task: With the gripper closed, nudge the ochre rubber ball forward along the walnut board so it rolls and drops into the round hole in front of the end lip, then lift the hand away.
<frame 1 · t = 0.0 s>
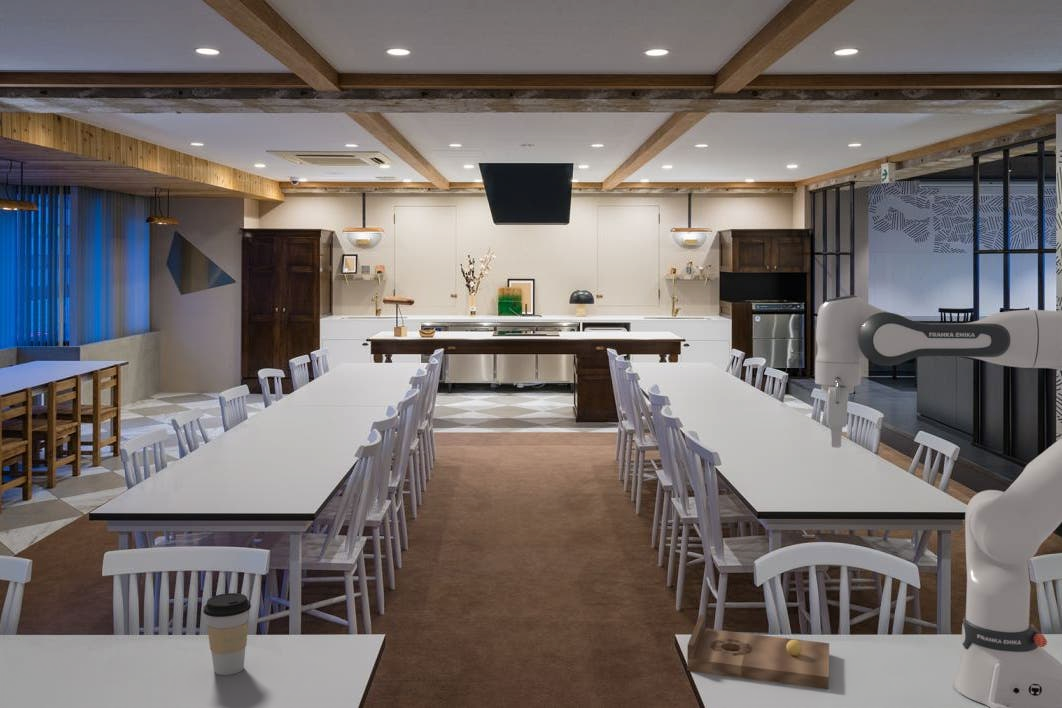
hand: (836, 443, 185), 48 cm above the table, fingers open, 8 cm apart
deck: (759, 662, 193), on the table
ball: (794, 647, 190), point 4 cm above the table, touching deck
coffee cup: (228, 670, 189), on the table
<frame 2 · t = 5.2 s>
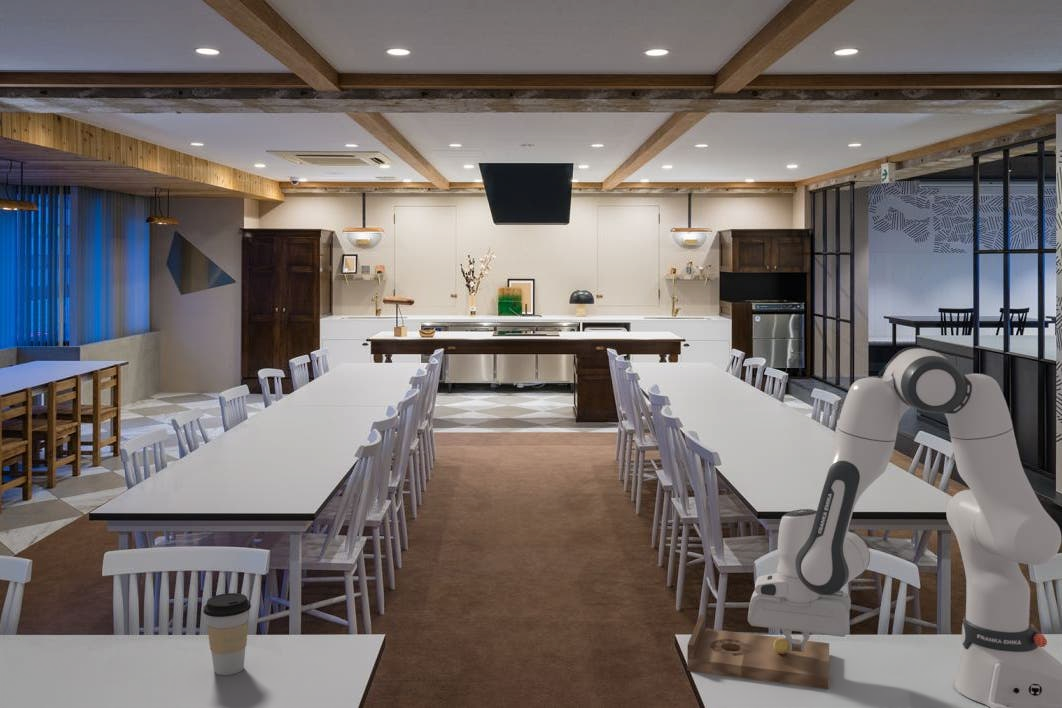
hand: (796, 650, 190), 4 cm above the table, fingers closed
ball: (781, 646, 191), point 4 cm above the table, tilted 95°, touching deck
everything else where it was.
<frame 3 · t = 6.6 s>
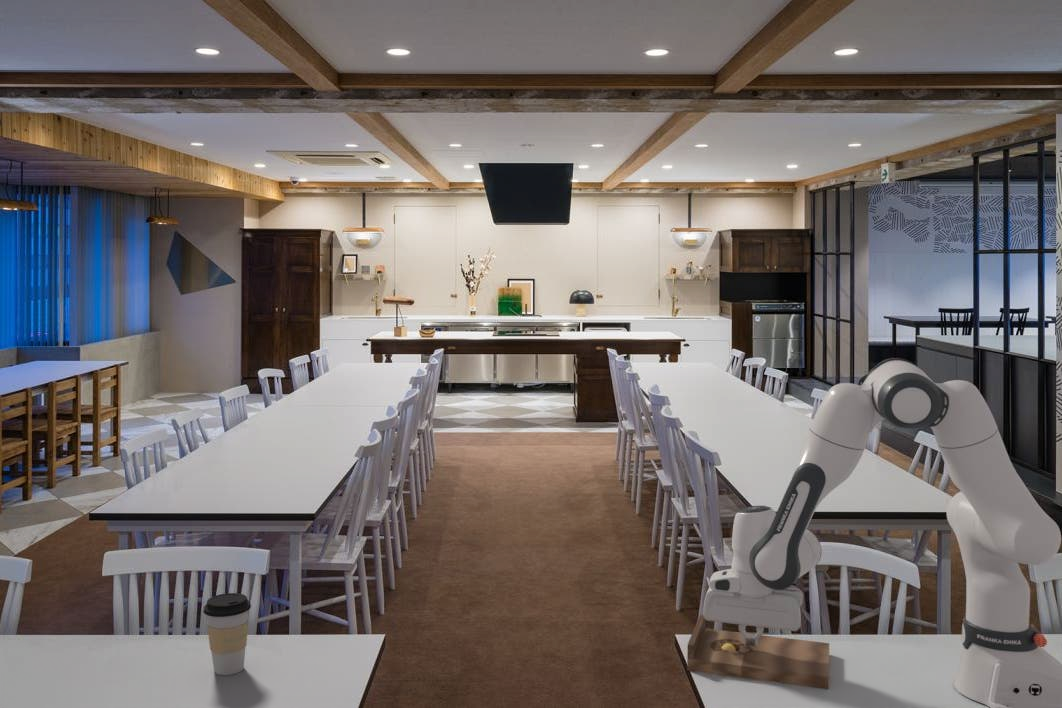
hand: (750, 644, 193), 4 cm above the table, fingers closed
ball: (728, 651, 195), point 2 cm above the table, tilted 165°
everything else where it was.
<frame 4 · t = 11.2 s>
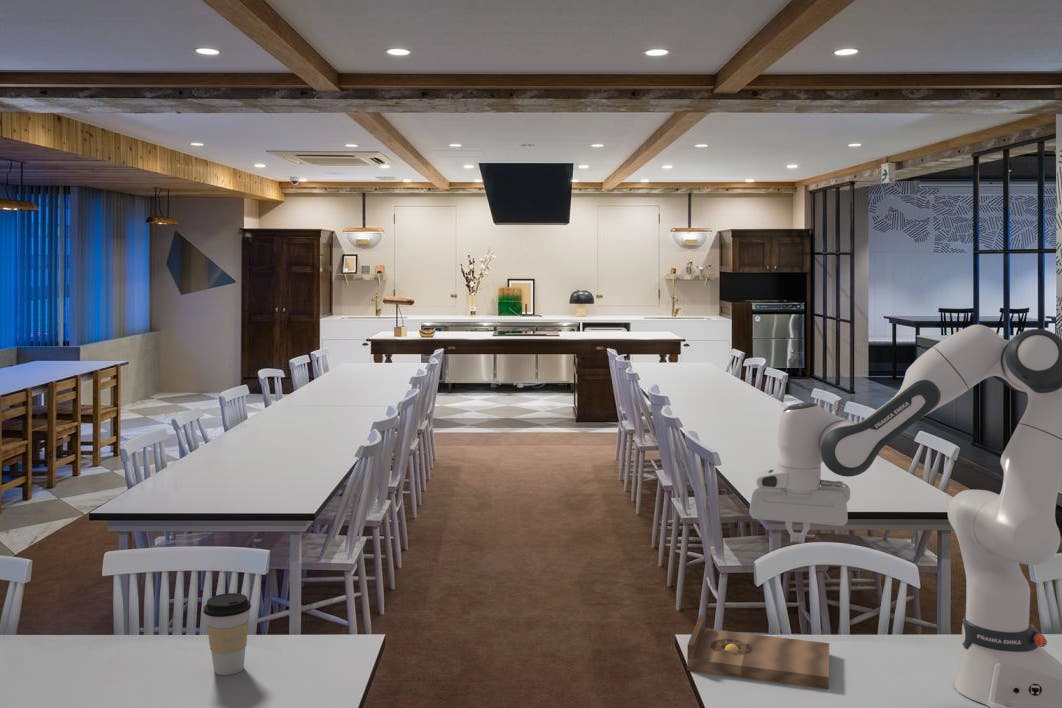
hand: (797, 542, 194), 25 cm above the table, fingers closed
ball: (731, 651, 194), point 2 cm above the table, tilted 137°
everything else where it was.
at the end: ball 0.2 cm from the target spot on the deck, point 1.6 cm above the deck's base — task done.
